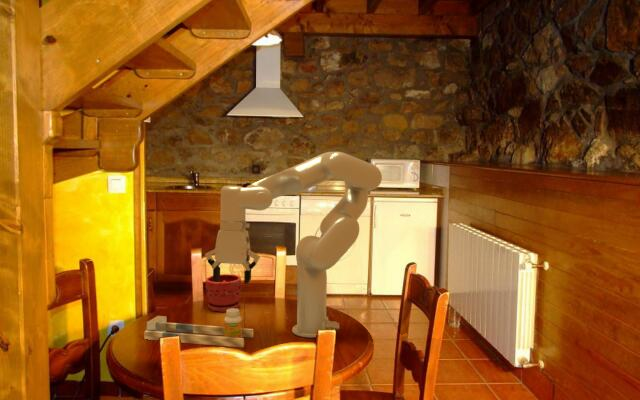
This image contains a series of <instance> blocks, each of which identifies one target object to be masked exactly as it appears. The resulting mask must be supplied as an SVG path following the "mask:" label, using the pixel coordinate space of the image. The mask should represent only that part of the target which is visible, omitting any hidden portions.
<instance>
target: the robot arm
mask: <svg viewBox="0 0 640 400" xmlns="http://www.w3.org/2000/svg"><path fill="white" fill-rule="evenodd" d="M382 178H383V176H382V172H381V170H380V168H378V166H376V165H375V164H373V163H370V162H368V161H365V160H363V159H361V158H358V157H355V156H352V155H351V154H348V153H346V152H343V151H327V152H324V153H321V154H318V155H317V156H314V157H312V158H310V159H307V160H305V161H304V162H301V163H299V164H298V163H297V164H296V165H294V166H291V167H289V168H286V169H283V170H281V171H280V172H278V173H274V174H272V175H269V176H266V177H263V178H262V179H260V180H258V181H255V182H254V183H251V184H249V185H247V186H245V187H243V186H240V185H225V186H223V187H221V190H220V222H219V223H220V224H219V226H220V227H219V228H220V229H219V230H218V232H217V235H216V241H215V247H214V249H212V250H209V251H208V252H206V253H205V254H204V256H205V258H206V260H207V262H208V264H209V265H210V266H211V268H212V276H213V278H214V282H216V281H218V280H220V275H221V267H220V265H221V264H229V265H242V266H243V267H244V272H243V273H244V275H243V277H244V278H243V281H244V282H243V283H244V285H246V284H248V283H250V282H251V280H252V269H254V267H256V266H257V264H258V262H259V261H260V259H261V256H260V255H258V254H257V253H256V252H253V251H252V250H251V243H250V236H249V231H248V230H246V229H249V228H250V226H251V223H248V222H247V220H246V213H247V211H246V210H251V211H265V210H267V209H268V208H270V206H271V205H272V203H273V200H274V199H277V198H280V197H282V196H286V195H294V194H299V193H302V192H305V191H307V190H309V189H311V188H313V187H315V186H317V185H320V184H322V183H324V182H327V181H329V180H331V179H337V180H339V181H342V182H344V193H343V196H342V197H341V199H339V201H338V202H337V203H336V205H334V206H333V208H332V209H331V210H330V211H329V212H328V213H327V214H326V216H324V218H323V219H322V220H321V222H320V225H319V230H320V233H321V234H322V236H316V235H307V236H304V237H302V238H301V239H300V240H299V241H298V243H297V244H296V249H295V259H296V265H297V266H296V267H297V291H296V292H297V295H296V296H297V300H296V301H297V302H296V303H297V305H296V306H297V307H296V308H297V311H296V312H297V313H296V320H297V321H296V323H297V324H295V325H293V327H292V330H291V331H292V333H293V334H294V335H296V336H298V337H301V338H317V337H316V335H317V330H318V329H331V330H332V329H333V330H340V323H339V322H337V321H331V320H329V316H327V294H328V293H327V289H328V288H327V287H328V286H327V284H328V279H327V278H328V277H327V271H328V270H329V269H332V268H333V266H335V265H336V264H337V263H338V262H339V261H340V260H341V258H343V256H344V255H345V254H346V253H347V252H348V251H349V250H350V248H351V247H352V246H353V245H354V243H355V242H356V241H357V239H358V238H359V235H360V225H359V222H358V219H359V218H360V217H361V216H362V214H364V212H365V209H366V208H367V206H368V205H367V204H368V200H369V191H374V190H375V189H377V188H378V187H379V186H380V185H381V183H382V180H383V179H382ZM212 255H214V258H213V257H212ZM251 258H252V259H253V260H252V262H250V261H251Z"/></svg>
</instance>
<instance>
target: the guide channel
mask: <svg viewBox="0 0 640 400" xmlns="http://www.w3.org/2000/svg"><path fill="white" fill-rule="evenodd" d="M143 331H144V330H143ZM143 334H144V336H143V337H144V340H146V339H148V340H149V341H158V340H159V338H160V337H167V336H176V335H179V336H180V340H181V342H180V343H184V344H194V345H195V344H196V345H208V346H210V345H211V346H220V347H230V348H231V347H232V348H244V347H245V338H248V339H249V338H251V339H252V338H254V329H253V328H245V327H244V328H243V327H242V338H234V337H224V326H217V325H205V324H204V325H203V324H194V323H193V324H192V323H191V324H190V323H179V322H178V323H177V322H167V316H166V315H156V316H155V317H153V318H152V319H150V320H148V321H146V330H145V331H144V333H143Z"/></svg>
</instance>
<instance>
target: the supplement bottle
mask: <svg viewBox="0 0 640 400" xmlns="http://www.w3.org/2000/svg"><path fill="white" fill-rule="evenodd" d="M225 313H226V314H225V315H226V316H225V317H224V319H223V327H224V336H223V337H234V338H243V337H242V328H243V327H242V325H243V320H242V316H240V309H239V308H231V309H227V310H226V311H225Z"/></svg>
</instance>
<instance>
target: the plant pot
mask: <svg viewBox="0 0 640 400" xmlns="http://www.w3.org/2000/svg"><path fill="white" fill-rule="evenodd" d="M241 290H242V277H241V276H240V275H237V274H231V273H230V274H229V273H228V274H227V273H224V274H221V273H220V280H218V281H216V282H214V278H213V275H211V276H208V277H207V278H205V292H206V296H207V297H206V298H207V299H208V300H209V301H208V302H209V303H208V308H209V309H210V310H212V311H214V312H224V313H225V312H226V310H227V309H231V308H236V309H238V308H239V307H240V301H239V299H240V296H241Z"/></svg>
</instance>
